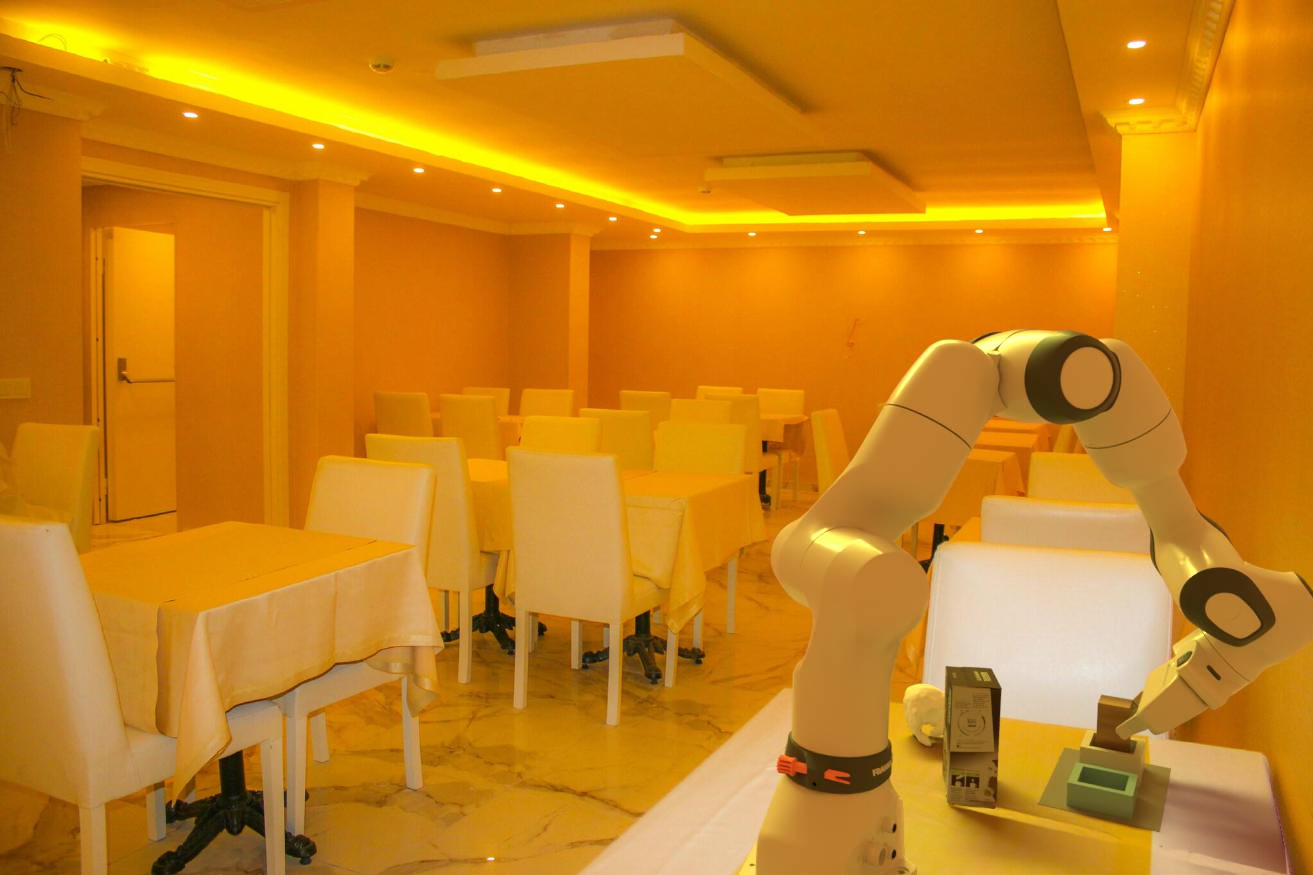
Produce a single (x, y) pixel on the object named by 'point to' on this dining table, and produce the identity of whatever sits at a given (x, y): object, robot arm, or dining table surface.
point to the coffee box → (971, 735)
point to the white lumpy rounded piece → (924, 711)
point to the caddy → (1109, 784)
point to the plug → (1112, 722)
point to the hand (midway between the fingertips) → (1123, 722)
